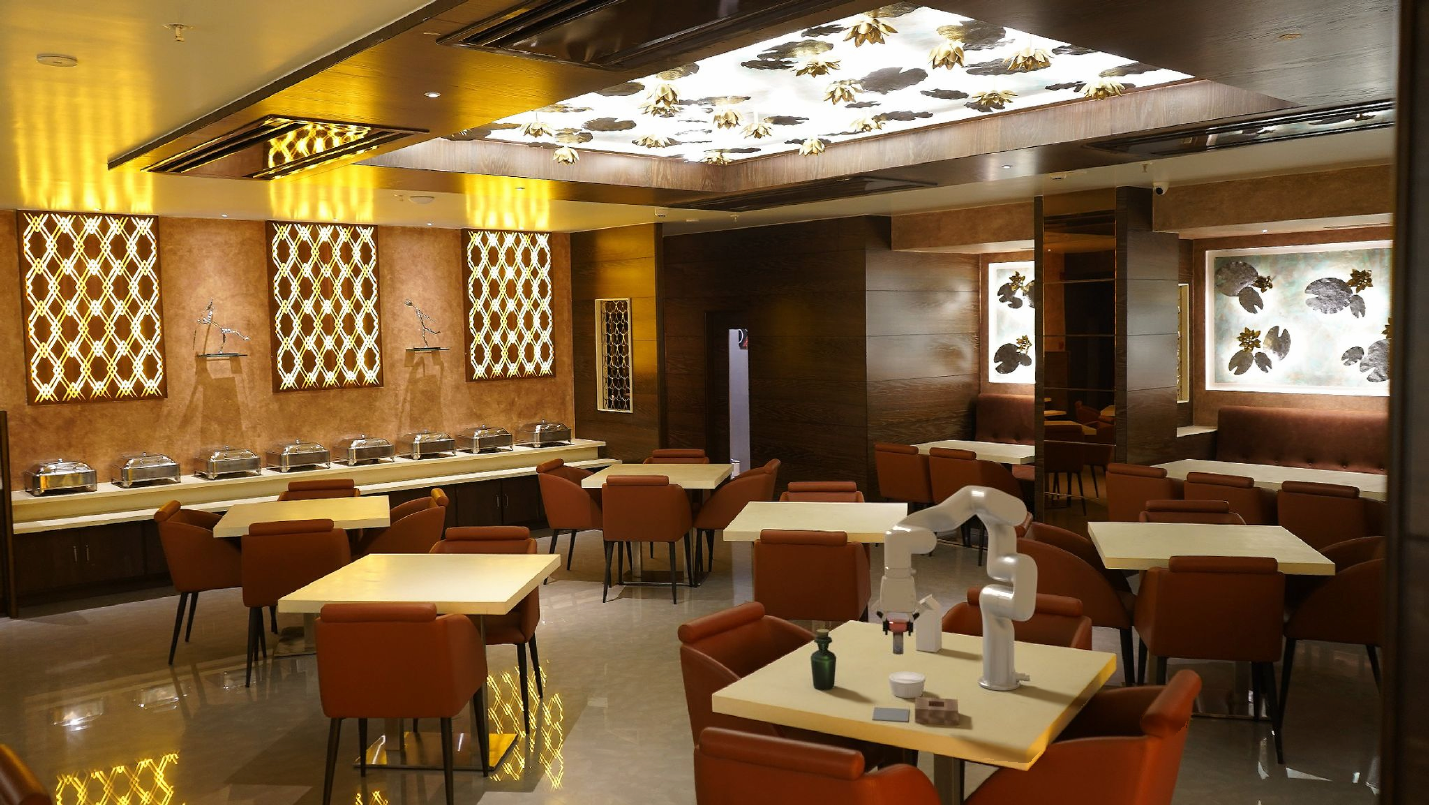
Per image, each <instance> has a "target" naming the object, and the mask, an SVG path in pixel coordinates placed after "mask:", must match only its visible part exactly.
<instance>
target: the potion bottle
mask: <svg viewBox="0 0 1429 805" xmlns="http://www.w3.org/2000/svg"><path fill="white" fill-rule="evenodd" d="M816 633H817V636H815V637H814V640H813V642H814V643H815V644H817V648H818V650H816V651H813V652H812V653H811V655H810V658H809V659H810V664H811V676H812V686H813V687H814V688H815V689H816V690H819V691H827V690H831V689H833V688H835V680H836V669H837V668H836V666H837V656H836V654H835V653H834V652H832V651H831V650H830V649H829V645H830V644H831V643H833V639H832V637H831V636H829V633H830V630H829V629H826V628H824V629H823V628H820V629H817V630H816Z"/></svg>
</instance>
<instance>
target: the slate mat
mask: <svg viewBox="0 0 1429 805" xmlns="http://www.w3.org/2000/svg"><path fill="white" fill-rule="evenodd" d="M873 708H874V709H873V713H872V714H873V715H872V719H871V720H872V721H880V722H881V721H883V722H884V721H885V722H898V723H899V722H902V723H908V722H909V714H910V709H909V708H893V707H880V706H879V707H875V706H874V707H873Z"/></svg>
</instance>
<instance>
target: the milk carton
mask: <svg viewBox="0 0 1429 805" xmlns="http://www.w3.org/2000/svg"><path fill="white" fill-rule="evenodd" d="M918 602H919V603H920V604H921V605H922V606H923V607H924V608H925V611H924V612H923V613H922V614H921V615H920V616H919V617H918V618H917V619H916V620H915V650H916V651H921V652H930V653H937V652H938V651H939V650H941V649H942V648H943V633H942V632H943V627H942V626H943V624H942V623H943V621H942V619H943V618H942V617H943V616H942V612H943V609H942V605H941V604H940V603H939V602H938V601H937V600H936V599H935V598H934V597H933V594H930V595H927V596H926V597H924V598H922V599H921V600H920V601H918ZM918 610H919V609H918V607H917V606H916V607H915V613H916V612H917V611H918Z"/></svg>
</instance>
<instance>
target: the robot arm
mask: <svg viewBox="0 0 1429 805" xmlns="http://www.w3.org/2000/svg"><path fill="white" fill-rule="evenodd" d="M1027 514H1028V510H1027V506H1026V505H1025V503H1024V502H1023V500H1021V499H1020V498H1018V497H1016V496H1013V495H1011V494H1008V493H1006V492H1004V491H1002V490H1000V489H998V488H997V489H996V488H993V487H990V486H988V487H987V486H980V485H966V486H964V487H962V488H960V489H959V490H958V491H956V492H955V493H953V494H952V495H950V496H949V497H948V498H946V499H945V500H944V501H943V502H941V503H939V504H937V505H933V506H931V507H927V508H925V509H922V510H918V511H915V512H913V513H911V514H909V515H907V516H906V517H904V518H903V519H901V520H900V521H898V522H897V523H896V524H895V525H894V526H893V527H892V529H888V530H886V531H885V533H884V537H883V538H884V539H883V540H884V541H883V542H884V543H883V544H884V547H883V548H884V575H882V576H881V580H880V581H881V582H880V591H879V592H880V593H879V598H878V599H877V600H876V601H875V602H874V603H873V604H872V605H871V607H870V609H871V611H872V612H874V613H875V614H876V615H877V617H879V619H880V620H881V621H882V632H884V634H885V635H884V636H888V634H889V631H888V615H889V613H900V614H901V613H902V614H904V613H905V614H907V616H908V620H907V621H908V631H907V632H908V635H907V636H909V637H911V636H912V633H914V622H916V619H917V618H918V617H919V616H920V615H921V614H922V613H923V612H924V611H925V608H924V607H923V606H922V605H921V604H920V602H919V601H918V600H917V598H916V596H917V595H916V582H915V579H914V577H913V575H916V574H917V569H915V568H912V555H913V554H916V555H917V554H918V555H919V554H922V555H924V554H928V553H931V552H932V551H934V549H935V548H936V546H937V543H938V541H937V536H936V534H935V533H937V532H938V533H939V532H946V531H947V532H948V531H952V530H956V529H957V528H958V527H960V526H961V525H962V524H964V523H966V521H968V520H969V519H971V518H972V517H973V516H975V515H976V516H977V517H978V518H979V520H981V522H982V524H984V526H985V528H986V530H987V534H988V542H987V543H988V544H987V557H986V558H987V559H986V560H987V561H986V573H987V576H988V577H990V578H991V579H993V580H996V581H999V582H1004V583H1009V584H1013V587H1011V586H1007V585H1002V584H996V583H994V584H993V583H992V584H987V585H986V586H984V587H983V588H982V589H981V590H980V593H979V596H978V601H979V608H980V613H981V618H982V673H983V674H982V675H981V677H978V679H977V684H978V685H979V686H980V687H983V688H985V689H989V690H994V691H1012V690H1016V689H1018V688H1020V681H1021V682H1022V681H1023V682H1031V677H1030V674H1026V673H1025V672H1023V673H1018V672H1017V671H1016V668H1015V628H1014V624H1013V622H1012V620H1014V621H1018V622H1025V621H1028V620H1030V618H1032V616H1033V615H1034V613H1035V609H1036V599H1037V587H1038V566H1037V564H1036V561H1035V560H1034V558H1033V557H1031V556H1030V555H1028V554H1025V553H1019V552H1018V551H1017V533H1016V529H1015V527H1017V526H1018V527H1019V525H1022V524H1023V523H1024V522H1025V521H1026V519H1027ZM878 607H879V608H880V609H879V608H878ZM917 607H918V609H919V610H918V611H917V612H916V608H917Z"/></svg>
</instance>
